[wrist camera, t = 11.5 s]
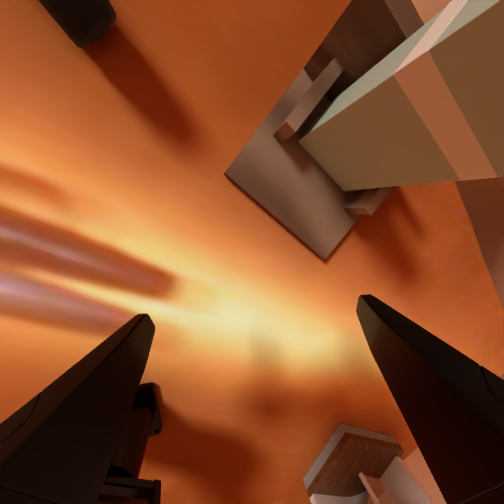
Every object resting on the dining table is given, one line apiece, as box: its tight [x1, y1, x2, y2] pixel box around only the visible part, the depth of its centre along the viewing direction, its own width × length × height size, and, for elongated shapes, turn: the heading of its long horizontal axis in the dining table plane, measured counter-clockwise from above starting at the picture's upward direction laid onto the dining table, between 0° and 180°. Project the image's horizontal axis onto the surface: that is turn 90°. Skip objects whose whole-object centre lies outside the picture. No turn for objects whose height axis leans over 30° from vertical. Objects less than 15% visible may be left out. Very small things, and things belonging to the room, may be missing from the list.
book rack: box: [224, 0, 424, 260], centre depth 16 cm, size 12×13×8 cm
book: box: [298, 0, 504, 191], centre depth 12 cm, size 4×6×13 cm, turn 51°
